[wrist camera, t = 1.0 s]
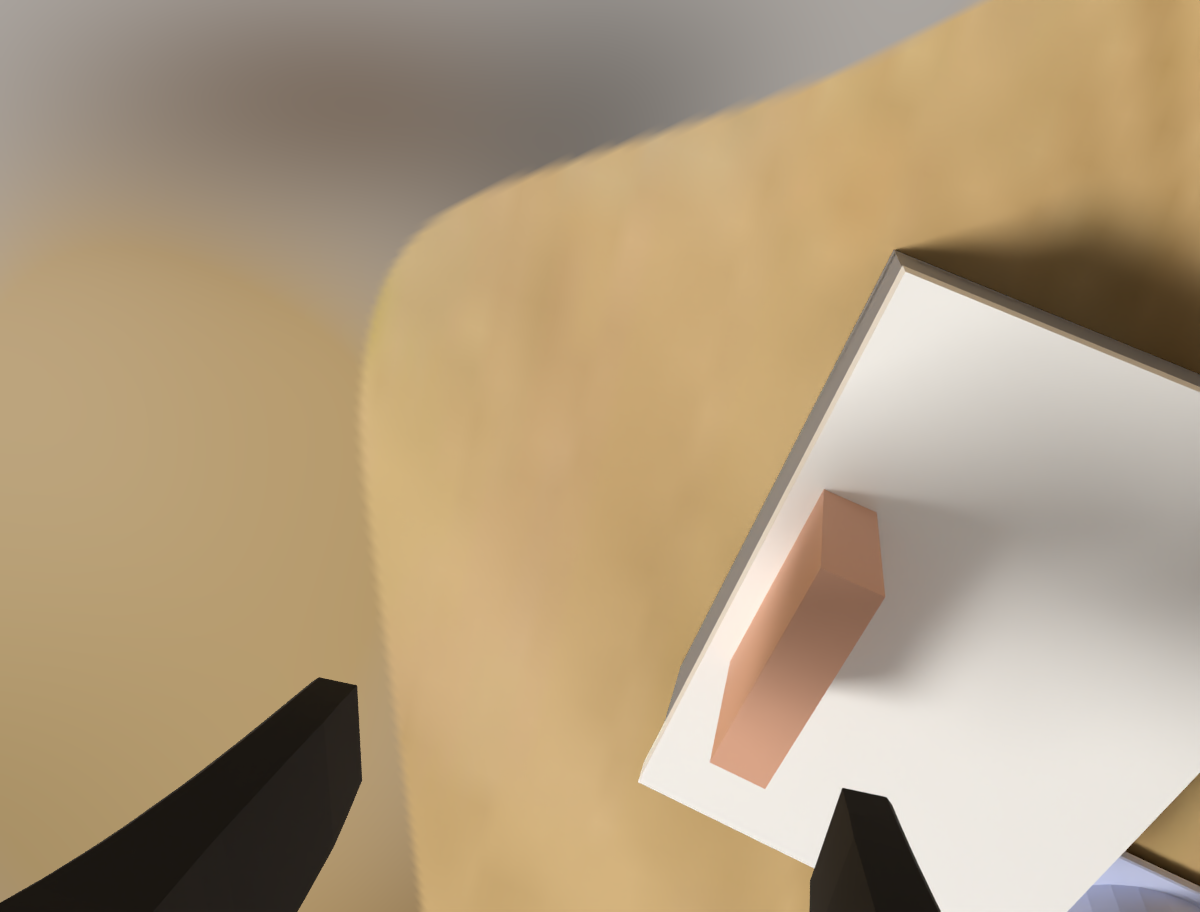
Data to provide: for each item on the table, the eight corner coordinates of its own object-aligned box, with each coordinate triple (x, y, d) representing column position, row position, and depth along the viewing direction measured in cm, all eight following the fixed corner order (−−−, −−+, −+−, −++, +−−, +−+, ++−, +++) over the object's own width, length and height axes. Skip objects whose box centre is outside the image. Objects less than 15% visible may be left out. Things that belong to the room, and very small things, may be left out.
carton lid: (1431, 481, 15) (1629, 600, 12) (1009, 938, 22) (1046, 1116, 18) (902, 264, 16) (922, 307, 13) (644, 761, 23) (604, 892, 19)
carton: (1297, 414, 19) (1402, 479, 16) (980, 808, 25) (1003, 920, 22) (893, 249, 20) (905, 276, 17) (680, 666, 26) (655, 751, 23)
